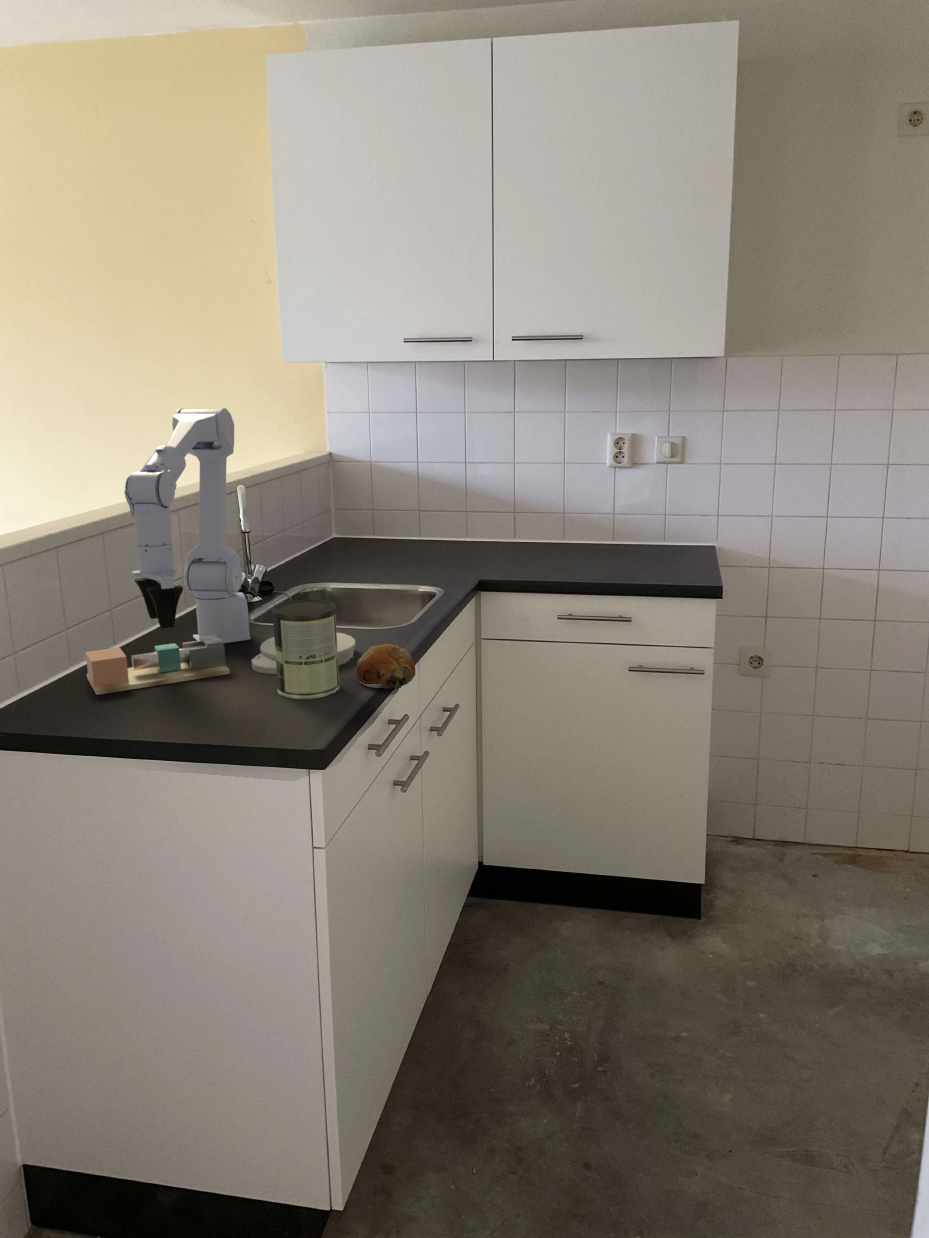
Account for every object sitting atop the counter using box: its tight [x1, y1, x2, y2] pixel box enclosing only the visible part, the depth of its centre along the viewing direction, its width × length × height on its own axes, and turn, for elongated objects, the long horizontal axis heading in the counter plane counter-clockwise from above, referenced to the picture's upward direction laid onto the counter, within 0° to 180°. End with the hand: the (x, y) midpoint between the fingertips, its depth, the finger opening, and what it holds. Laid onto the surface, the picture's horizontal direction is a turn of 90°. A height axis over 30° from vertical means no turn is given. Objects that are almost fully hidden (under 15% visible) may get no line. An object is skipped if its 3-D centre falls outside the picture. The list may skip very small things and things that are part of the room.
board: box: [86, 663, 231, 696], centre depth 170 cm, size 22×10×1 cm, turn 118°
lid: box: [251, 632, 357, 675], centre depth 179 cm, size 17×20×3 cm
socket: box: [85, 646, 129, 687], centre depth 166 cm, size 6×6×4 cm
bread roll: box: [356, 643, 416, 690], centre depth 166 cm, size 10×10×8 cm
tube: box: [131, 643, 205, 672], centre depth 171 cm, size 15×3×4 cm, turn 118°
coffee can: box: [271, 598, 341, 700], centre depth 161 cm, size 10×10×14 cm
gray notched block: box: [182, 635, 227, 671], centre depth 173 cm, size 6×5×4 cm
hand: (161, 622), depth 168 cm, fingers open, 7 cm apart
